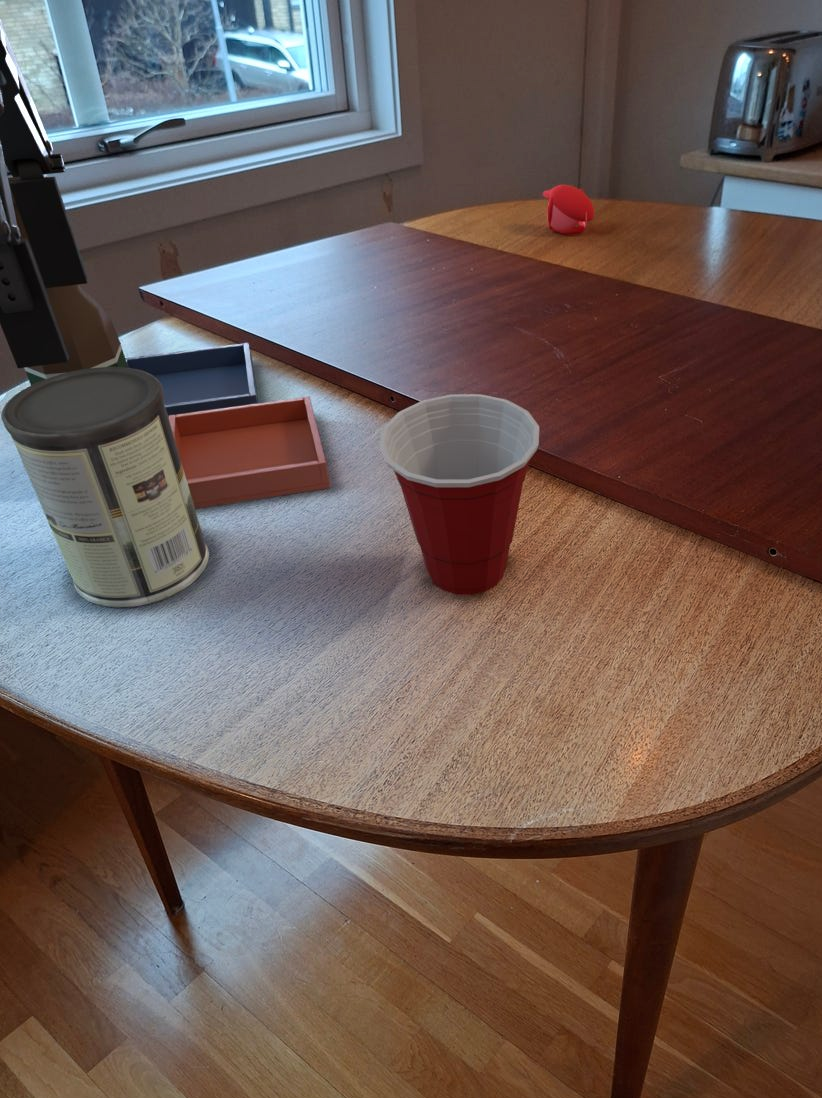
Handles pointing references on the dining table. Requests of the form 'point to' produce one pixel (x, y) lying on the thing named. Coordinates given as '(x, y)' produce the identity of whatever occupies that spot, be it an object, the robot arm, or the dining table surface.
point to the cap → (568, 209)
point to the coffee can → (110, 483)
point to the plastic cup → (462, 482)
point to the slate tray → (202, 377)
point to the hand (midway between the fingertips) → (56, 320)
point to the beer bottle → (76, 327)
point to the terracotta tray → (250, 451)
